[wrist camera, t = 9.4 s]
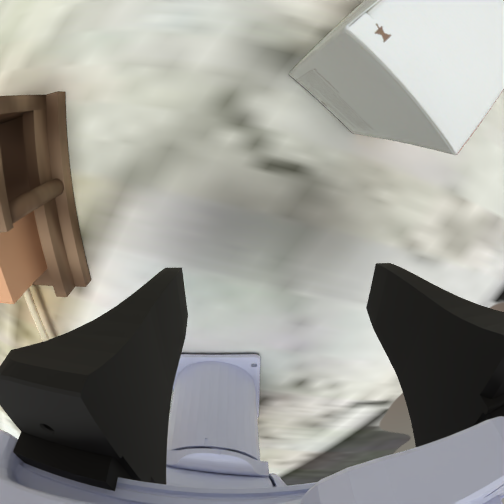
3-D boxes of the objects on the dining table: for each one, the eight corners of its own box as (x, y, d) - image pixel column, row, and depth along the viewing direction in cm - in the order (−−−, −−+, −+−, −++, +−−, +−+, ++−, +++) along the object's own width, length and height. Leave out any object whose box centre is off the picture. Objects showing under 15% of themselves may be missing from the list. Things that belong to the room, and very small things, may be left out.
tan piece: (86, 368, 24) (68, 409, 19) (38, 361, 24) (18, 396, 19) (33, 203, 17) (-10, 230, 13) (-16, 210, 17) (-56, 235, 12)
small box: (351, 134, 18) (455, 163, 8) (285, 73, 16) (340, 29, 6) (420, 60, 15) (535, 47, 6) (362, 0, 14) (454, -62, 4)
